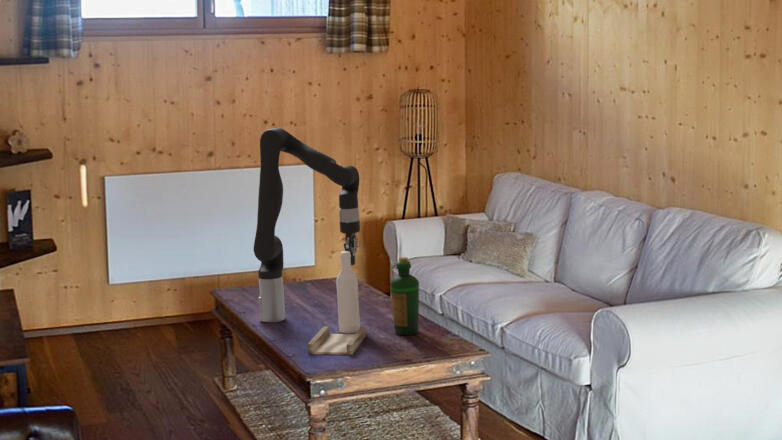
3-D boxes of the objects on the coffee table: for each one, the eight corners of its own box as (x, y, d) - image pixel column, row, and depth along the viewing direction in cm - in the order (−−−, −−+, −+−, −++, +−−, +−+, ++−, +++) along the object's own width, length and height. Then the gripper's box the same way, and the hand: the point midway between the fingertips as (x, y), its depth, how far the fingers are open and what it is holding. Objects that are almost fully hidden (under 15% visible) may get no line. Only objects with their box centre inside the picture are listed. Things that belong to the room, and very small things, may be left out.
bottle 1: (357, 333, 399) (353, 254, 393) (336, 333, 401) (332, 254, 395) (362, 327, 407) (358, 249, 401) (342, 327, 408) (337, 249, 403)
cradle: (308, 354, 377) (307, 344, 377) (324, 335, 398) (323, 326, 398) (352, 354, 374) (352, 344, 373) (366, 336, 395) (366, 326, 395)
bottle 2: (391, 329, 402) (387, 256, 397) (419, 327, 403) (416, 254, 398) (393, 337, 392) (389, 262, 387) (422, 335, 392) (419, 260, 387)
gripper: (343, 216, 412) (346, 260, 415) (335, 223, 400) (338, 268, 403) (363, 216, 411) (365, 260, 414) (355, 222, 398) (357, 268, 401)
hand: (352, 264), depth 408 cm, fingers closed
